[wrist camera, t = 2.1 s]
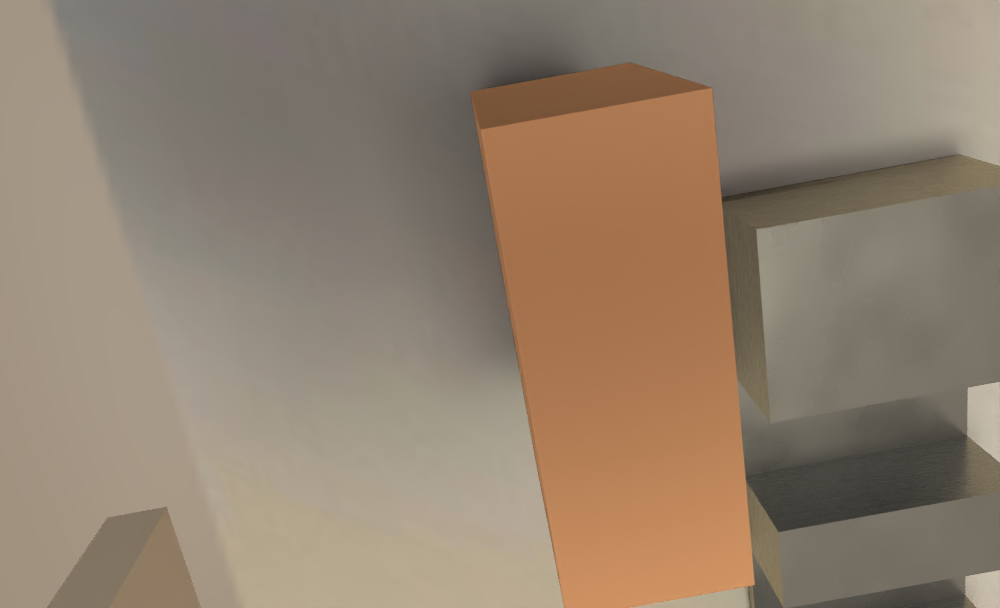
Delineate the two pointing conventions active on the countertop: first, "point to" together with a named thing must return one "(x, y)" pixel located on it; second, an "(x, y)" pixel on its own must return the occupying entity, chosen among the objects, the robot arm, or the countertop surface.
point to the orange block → (622, 328)
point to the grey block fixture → (867, 383)
